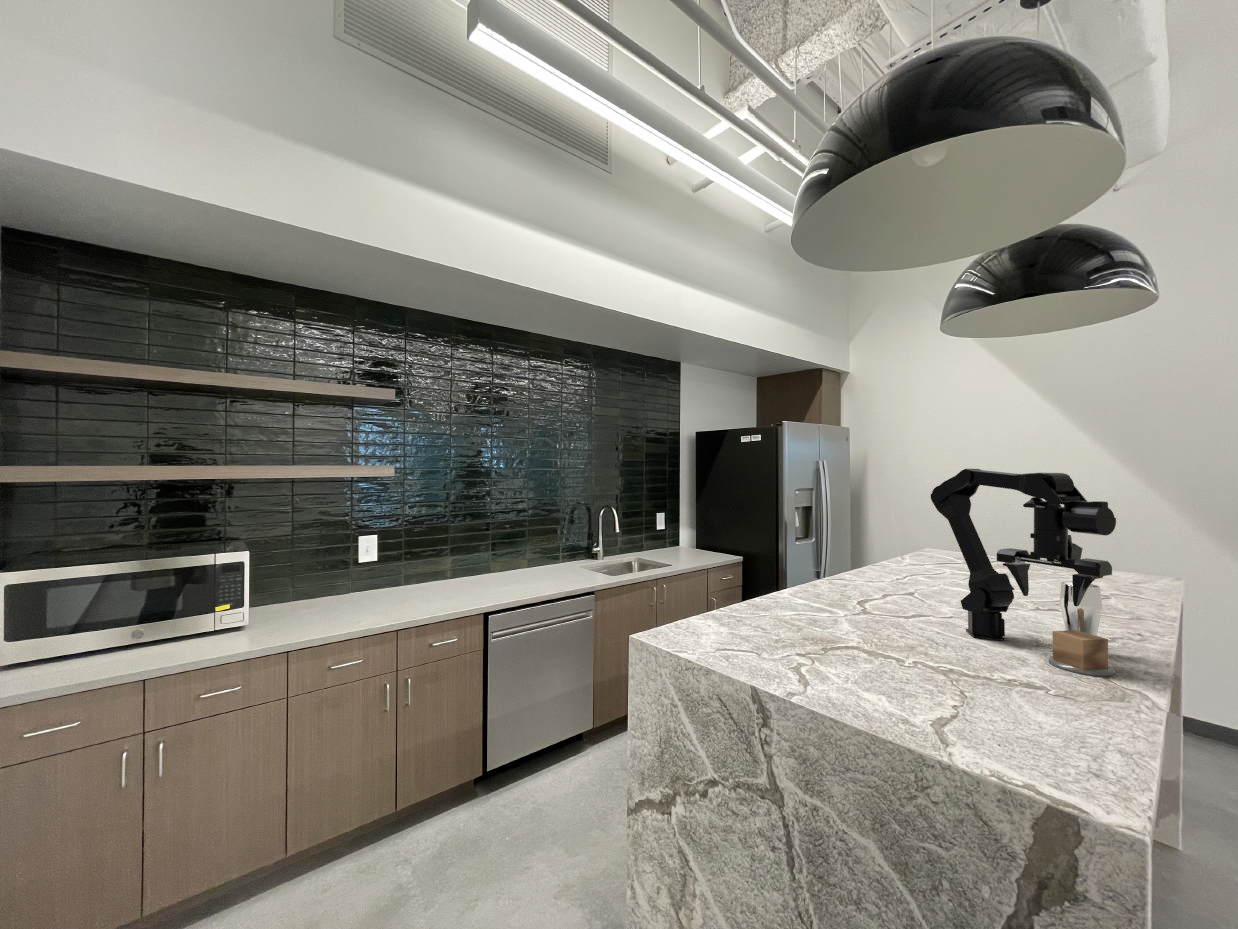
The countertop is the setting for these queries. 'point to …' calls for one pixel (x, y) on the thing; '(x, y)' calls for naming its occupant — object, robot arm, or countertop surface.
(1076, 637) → the walnut block
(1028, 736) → the countertop surface
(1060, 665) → the slate coaster
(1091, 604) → the beer glass
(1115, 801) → the countertop surface
